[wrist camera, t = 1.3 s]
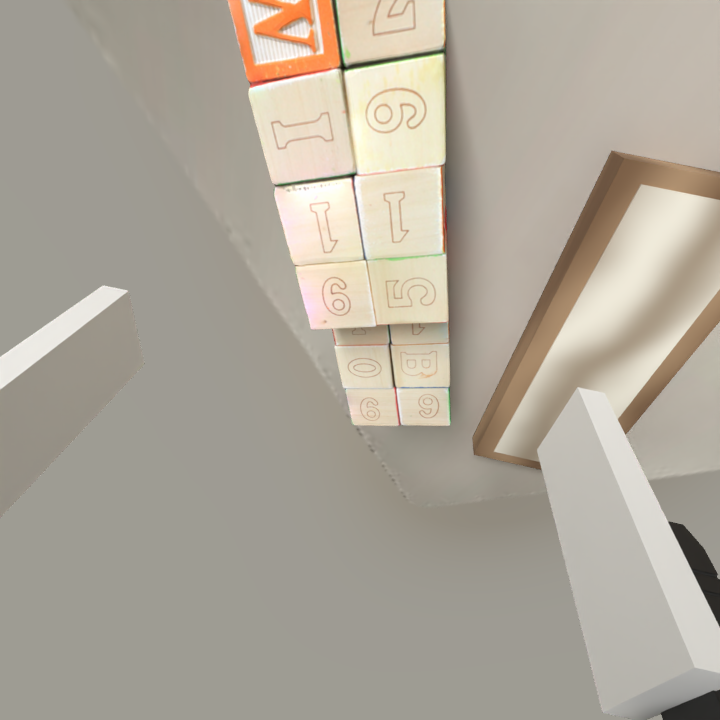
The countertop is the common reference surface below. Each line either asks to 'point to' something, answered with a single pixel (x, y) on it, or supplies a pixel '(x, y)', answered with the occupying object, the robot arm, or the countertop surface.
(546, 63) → the countertop surface
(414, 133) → the stack of blocks
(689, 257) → the picture frame
